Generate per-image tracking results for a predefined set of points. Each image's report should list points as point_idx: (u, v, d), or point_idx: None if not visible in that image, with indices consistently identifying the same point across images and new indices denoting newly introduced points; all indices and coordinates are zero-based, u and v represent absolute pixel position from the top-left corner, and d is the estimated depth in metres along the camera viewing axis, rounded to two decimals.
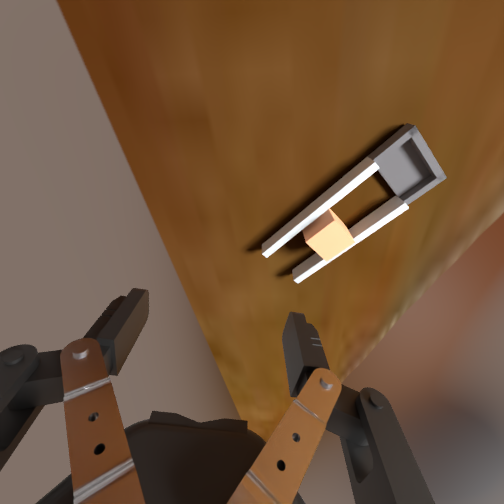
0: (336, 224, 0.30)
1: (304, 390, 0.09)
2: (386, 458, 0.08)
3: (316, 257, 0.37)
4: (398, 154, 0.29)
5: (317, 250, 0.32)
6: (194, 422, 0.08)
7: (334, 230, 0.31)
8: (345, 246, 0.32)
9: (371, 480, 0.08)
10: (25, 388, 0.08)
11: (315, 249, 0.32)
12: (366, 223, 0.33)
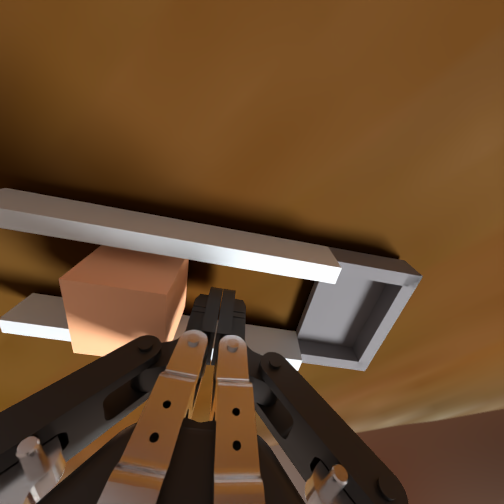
0: (162, 305, 0.11)
1: (220, 366, 0.10)
2: (301, 408, 0.09)
3: None
4: (358, 287, 0.15)
5: (72, 317, 0.11)
6: (194, 422, 0.08)
7: (146, 312, 0.11)
8: None
9: (295, 432, 0.09)
10: (141, 376, 0.09)
11: (69, 312, 0.11)
12: None
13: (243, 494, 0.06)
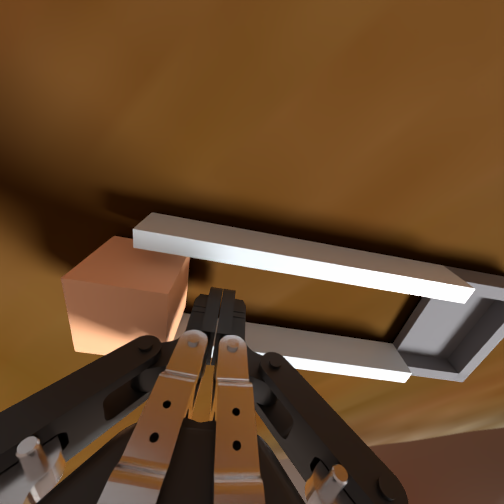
0: (163, 305, 0.11)
1: (220, 366, 0.10)
2: (301, 408, 0.09)
3: (216, 329, 0.16)
4: (467, 304, 0.16)
5: (74, 316, 0.11)
6: (194, 422, 0.08)
7: (148, 311, 0.11)
8: None
9: (295, 432, 0.09)
10: (141, 376, 0.09)
11: (71, 311, 0.11)
12: (336, 349, 0.17)
13: (243, 494, 0.06)
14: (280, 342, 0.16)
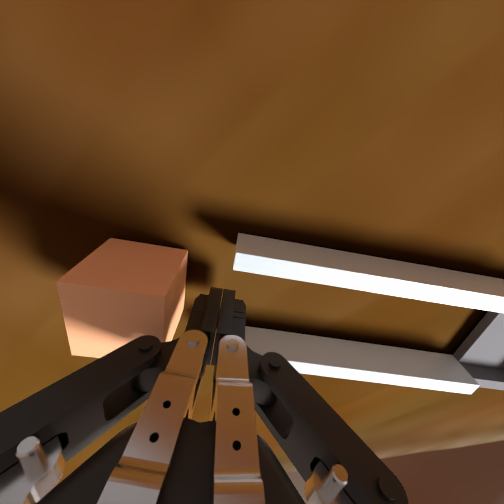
0: (160, 307, 0.11)
1: (220, 366, 0.10)
2: (301, 408, 0.09)
3: (288, 343, 0.17)
4: None
5: (70, 320, 0.11)
6: (194, 422, 0.08)
7: (145, 314, 0.11)
8: None
9: (295, 432, 0.09)
10: (141, 376, 0.09)
11: (67, 314, 0.11)
12: (403, 362, 0.17)
13: (243, 494, 0.06)
14: (350, 355, 0.17)
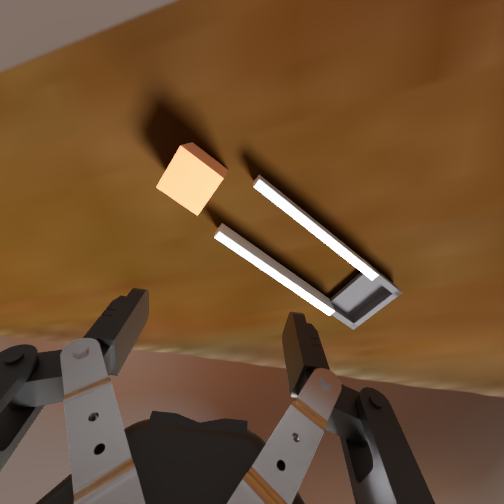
0: (218, 182, 0.22)
1: (304, 390, 0.09)
2: (386, 458, 0.08)
3: (253, 249, 0.29)
4: (372, 288, 0.32)
5: (171, 167, 0.22)
6: (194, 422, 0.08)
7: (208, 182, 0.22)
8: (187, 205, 0.23)
9: (371, 480, 0.08)
10: (25, 388, 0.08)
11: (172, 164, 0.22)
12: (305, 286, 0.31)
13: None
14: (281, 270, 0.30)
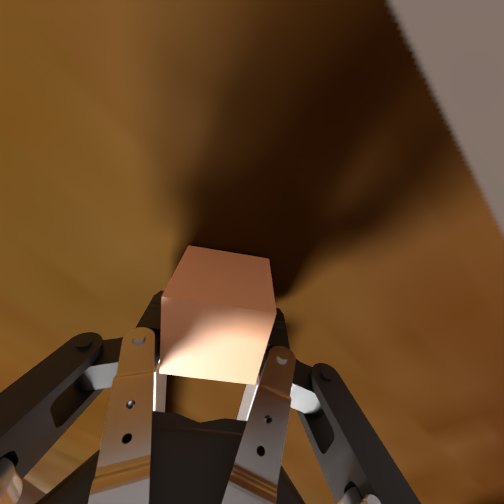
0: (242, 380, 0.12)
1: (265, 371, 0.10)
2: (344, 426, 0.08)
3: (161, 398, 0.18)
4: None
5: (222, 311, 0.10)
6: (194, 422, 0.08)
7: (233, 369, 0.11)
8: (166, 355, 0.11)
9: (334, 449, 0.09)
10: (86, 374, 0.09)
11: (231, 310, 0.10)
12: None
13: (254, 499, 0.06)
14: None
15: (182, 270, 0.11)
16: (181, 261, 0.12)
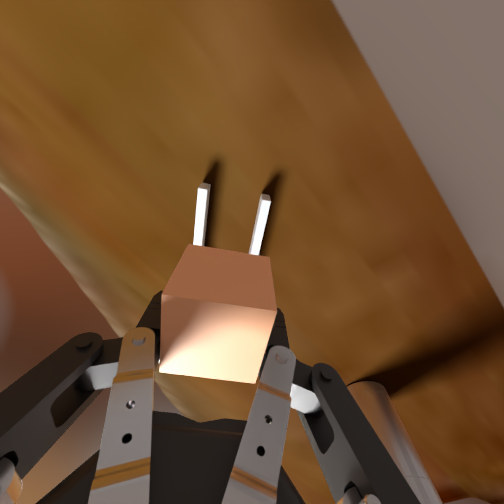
0: (242, 379, 0.12)
1: (265, 371, 0.10)
2: (344, 426, 0.08)
3: (205, 224, 0.30)
4: None
5: (222, 309, 0.10)
6: (194, 422, 0.08)
7: (233, 368, 0.11)
8: (166, 353, 0.11)
9: (334, 449, 0.09)
10: (86, 374, 0.09)
11: (231, 309, 0.10)
12: None
13: (254, 499, 0.06)
14: None
15: (182, 268, 0.11)
16: (181, 259, 0.12)
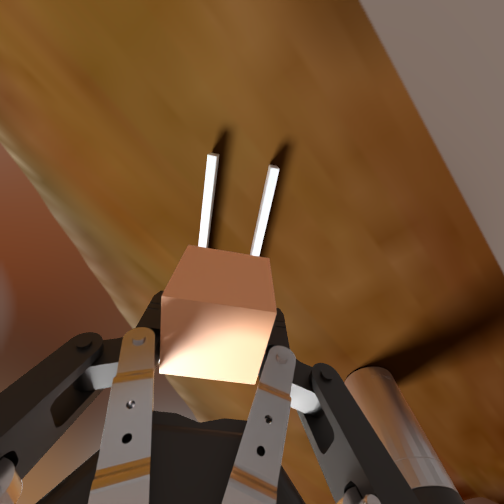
0: (242, 380, 0.12)
1: (265, 371, 0.10)
2: (344, 426, 0.08)
3: (213, 195, 0.30)
4: None
5: (222, 310, 0.10)
6: (194, 422, 0.08)
7: (233, 369, 0.11)
8: (166, 354, 0.11)
9: (334, 449, 0.09)
10: (86, 374, 0.09)
11: (231, 310, 0.10)
12: None
13: (254, 499, 0.06)
14: (209, 229, 0.32)
15: (182, 269, 0.11)
16: (181, 260, 0.12)
